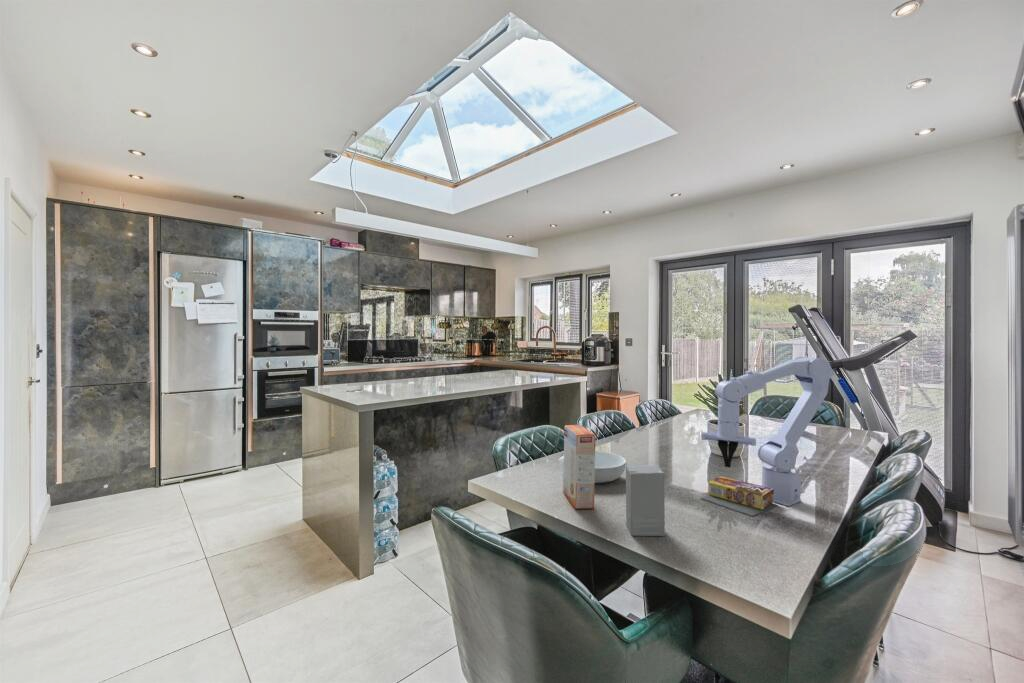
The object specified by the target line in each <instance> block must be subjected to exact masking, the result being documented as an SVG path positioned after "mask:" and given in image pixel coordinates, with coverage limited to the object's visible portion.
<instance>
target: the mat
mask: <svg viewBox="0 0 1024 683" xmlns="http://www.w3.org/2000/svg"><path fill="white" fill-rule="evenodd" d="M700 499H701V500H703V501H706V502H709V503H711V504H715V505H718V506H720V507H723V508H725V509H729V510H731V511H734V512H737V513H739V514H743V515H746V516H749V517H755V516H758V515H760V514H762V513H764V512H766V511H769V510H773V509H774V508H776V507H778V506H779V504H776V503H774V502H773V503H771V504H770V505H769V506H767V507H766V508H764V509H763V510H762V509H758V508H754V507H751V506H747V505H744V504H740V503H737V502H733V501H729V500H726V499H722V498H719V497H715V496H712V495H705V496H703V497H700Z"/></svg>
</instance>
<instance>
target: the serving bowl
mask: <svg viewBox="0 0 1024 683" xmlns="http://www.w3.org/2000/svg"><path fill="white" fill-rule="evenodd" d="M562 458H563V459H562V460H563V462H564V456H563V457H562ZM626 465H627V460H626V458H624V457H623V456H621V455H619V454H615V453H612V452H609V451H608V452H607V451H601V450H600V451H599V450H595V481H594V484H601V483H608V482H611V481H612V482H613V481H615V480H617V479H619V478H620V477H621V476H623V474H624V472H625V471H626Z"/></svg>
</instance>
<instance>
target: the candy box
mask: <svg viewBox="0 0 1024 683" xmlns="http://www.w3.org/2000/svg"><path fill="white" fill-rule="evenodd" d="M707 484H708V486H707V488H708V490H707V491H708V493H707V496H709V495H712V496H715V497H719V498H722V499H726V500H729V501H733V502H737V503H740V504H744V505H747V506H751V507H754V508H758V509H762V510H763V509H764V508H766V507H767V506H769V505H770V504H771V503H773V504H774V503H775V502H774V489H772V488H768V487H764V486H762V485H758V484H755V483H751V482H750V483H749V482H746V481H742V480H738V479H734V478H729V477H725V476H718V477H717V478H714V479H712V480H710V481H708V483H707Z"/></svg>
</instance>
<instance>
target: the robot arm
mask: <svg viewBox="0 0 1024 683" xmlns="http://www.w3.org/2000/svg"><path fill="white" fill-rule="evenodd" d="M833 374H834V370H833V368H832V366H831V364H830V362H829V361H828V360H827V359H826V358H823V357H822V358H821V357H817V358H815V357H806V356H805V357H804V356H797V357H795V358H791V359H787V361H783V362H782V363H780V364H777V365H776V366H773V367H771V368H769V369H765V370H764V371H762V372H758V371H755V370H753V371H752V370H747V371H745V374H743V375H739V376H735V377H734V376H733V377H731V378H730V381H728V380H722V381H720V382H718V384H717V385H716V387H715V389H714V394H715V395H716V397H717V399H718V400H717V402H718V403H717V432H716V433H715V432H703V431H702V432H701V440H703V441H706V440H707V441H715V442H717V445H718V449H719V450H720V453H721V455H722V457H723V461H724V463H723V464H724V467H725V468H731V467H732V466H731V464H732V459H733V457H734V455H735V453H736V451H737V449H738V446H739V444H741V445H746V446H747V445H749V446H752V447H756V446H757V438H755V437H749V436H744V435H740V402H741V400H742V399H743V397H745V396H747V395H750V394H752V393H755V392H758V391H760V390H763V389H764V388H765V386H766V384H768V383H771V382H774V381H776V380H780V379H783V378H785V377H788V376H794V377H795V379H796V380H797V381H798V383H800V385H801V387H802V389H803V391H802V393H801V394H800V396H799V398H798V399H797V401H796V402H795V404H794V406H793V407H792V409H791V411H790V412H789V414H788V415H787V417H786V419H785V420H784V422H783V424H782V425H781V426H780V428H779V430H778V431H777V433H776V434H774V435H773V436H770V437H768V439H767V440H766V442H764V443H762V444H761V445H760V446H759V447H758V450H757V457H758V459H759V460H760V461H761V465H762V466H761V486H764V487H768V488H772V489H774V502H773V503H778V504H781V505H784V506H786V507H790V506H793V505H795V504H797V503H799V502H802V499H801V485H802V483H801V482H802V481H801V476H800V475H799V474H798V473H796V472H793V471H792V470H793V469H794V468H795V466H796V464H797V457H798V455H799V453H800V451H799V449H798V448H799V447H798V446H797V444H798V442H799V441H800V439H801V437H802V435H804V433H805V430H806V429H807V428H808V426H809V424H810V422H811V421H812V419H813V418H814V416H815V414H816V413H817V411H818V410H819V408H820V406H821V405H822V403H823V402H824V400H825V398H826V397H827V395H828V393H829V384H830V379H831V378H832V376H833Z"/></svg>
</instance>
